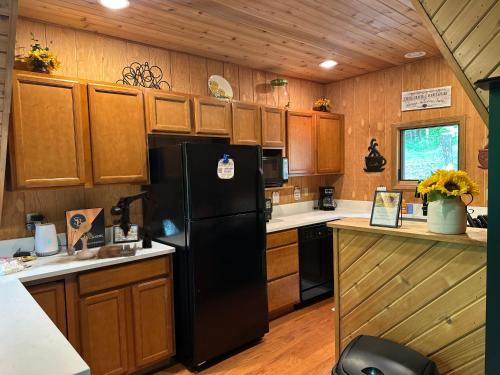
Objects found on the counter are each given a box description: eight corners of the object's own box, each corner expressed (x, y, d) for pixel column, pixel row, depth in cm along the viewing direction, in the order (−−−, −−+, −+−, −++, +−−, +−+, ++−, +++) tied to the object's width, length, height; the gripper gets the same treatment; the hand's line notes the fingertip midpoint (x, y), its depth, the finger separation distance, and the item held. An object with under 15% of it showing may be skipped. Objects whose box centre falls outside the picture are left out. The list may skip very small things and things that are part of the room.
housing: (123, 252, 242) (122, 244, 242) (120, 256, 229) (120, 249, 229) (102, 253, 239) (101, 246, 239) (98, 258, 226) (97, 250, 225)
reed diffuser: (63, 256, 235) (61, 227, 233) (65, 254, 241) (64, 225, 240) (79, 255, 237) (78, 226, 236) (81, 252, 244) (80, 224, 243)
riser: (130, 249, 251) (130, 244, 251) (129, 250, 247) (129, 245, 247) (124, 249, 250) (124, 244, 250) (123, 250, 246) (123, 246, 246)
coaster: (131, 234, 243) (131, 231, 243) (130, 235, 237) (130, 232, 237) (122, 234, 242) (122, 231, 241) (121, 236, 236) (121, 233, 236)
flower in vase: (72, 259, 226) (70, 221, 224) (87, 255, 236) (85, 219, 234) (85, 261, 219) (83, 222, 218) (100, 257, 229) (98, 220, 228)
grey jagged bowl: (136, 250, 245) (136, 243, 244) (135, 255, 231) (134, 247, 231) (116, 252, 241) (116, 244, 241) (113, 257, 228) (113, 248, 227)
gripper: (115, 213, 246) (116, 234, 247) (110, 216, 228) (111, 239, 228) (132, 212, 248) (132, 233, 249) (128, 215, 230) (129, 238, 231)
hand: (126, 236), depth 239 cm, fingers closed on coaster, 6 cm apart
